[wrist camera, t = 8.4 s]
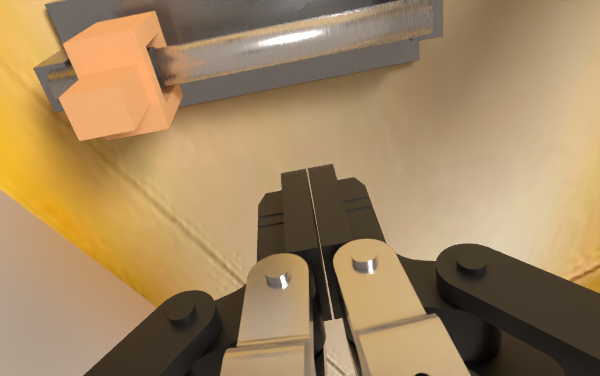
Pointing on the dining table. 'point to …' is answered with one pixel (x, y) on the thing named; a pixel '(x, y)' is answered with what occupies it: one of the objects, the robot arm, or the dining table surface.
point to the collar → (118, 80)
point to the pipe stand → (253, 41)
